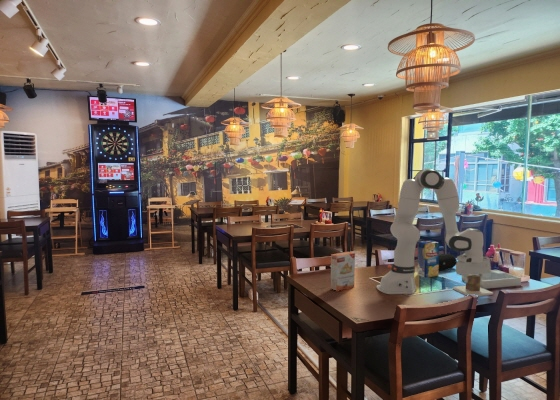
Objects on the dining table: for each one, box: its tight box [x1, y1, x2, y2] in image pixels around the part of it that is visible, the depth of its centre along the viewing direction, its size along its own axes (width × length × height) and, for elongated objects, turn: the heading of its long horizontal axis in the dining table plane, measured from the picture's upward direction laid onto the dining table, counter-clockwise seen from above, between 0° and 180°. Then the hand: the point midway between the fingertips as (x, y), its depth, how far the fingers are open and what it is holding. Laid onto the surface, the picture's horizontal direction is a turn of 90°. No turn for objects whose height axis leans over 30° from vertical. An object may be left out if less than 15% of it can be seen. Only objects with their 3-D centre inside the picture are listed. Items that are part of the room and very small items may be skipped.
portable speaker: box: [439, 253, 458, 271], centre depth 247 cm, size 26×10×10 cm, turn 113°
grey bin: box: [461, 269, 522, 290], centre depth 216 cm, size 26×18×5 cm
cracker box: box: [330, 251, 356, 292], centre depth 209 cm, size 14×6×21 cm, turn 123°
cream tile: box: [453, 285, 494, 297], centre depth 201 cm, size 14×14×2 cm
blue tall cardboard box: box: [417, 240, 440, 278], centre depth 233 cm, size 7×11×22 cm, turn 108°
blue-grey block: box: [491, 270, 506, 280], centre depth 217 cm, size 5×5×6 cm
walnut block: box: [465, 274, 480, 291], centre depth 201 cm, size 5×5×8 cm
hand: (472, 281), depth 201 cm, fingers open, 6 cm apart
